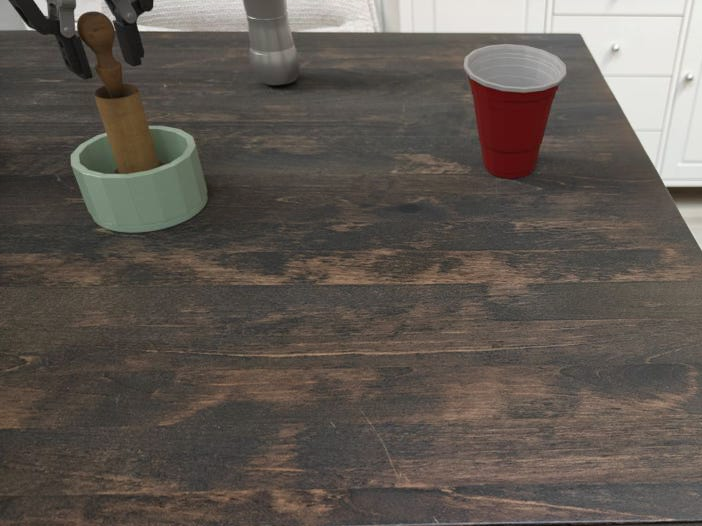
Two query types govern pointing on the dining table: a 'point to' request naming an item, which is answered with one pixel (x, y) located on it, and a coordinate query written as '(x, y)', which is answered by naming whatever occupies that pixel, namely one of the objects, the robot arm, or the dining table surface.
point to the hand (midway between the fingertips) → (108, 69)
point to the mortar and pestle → (118, 100)
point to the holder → (142, 184)
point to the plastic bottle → (271, 42)
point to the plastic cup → (512, 103)
